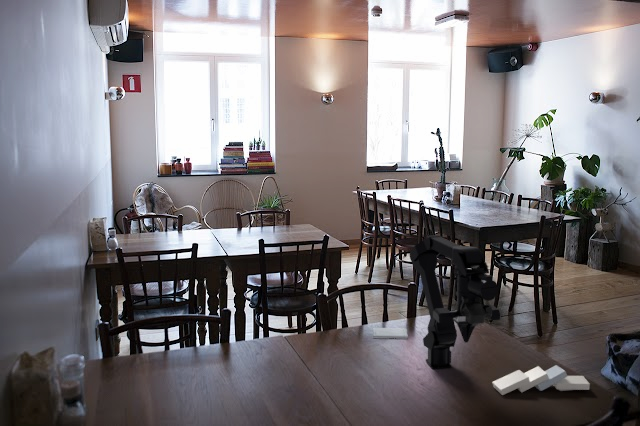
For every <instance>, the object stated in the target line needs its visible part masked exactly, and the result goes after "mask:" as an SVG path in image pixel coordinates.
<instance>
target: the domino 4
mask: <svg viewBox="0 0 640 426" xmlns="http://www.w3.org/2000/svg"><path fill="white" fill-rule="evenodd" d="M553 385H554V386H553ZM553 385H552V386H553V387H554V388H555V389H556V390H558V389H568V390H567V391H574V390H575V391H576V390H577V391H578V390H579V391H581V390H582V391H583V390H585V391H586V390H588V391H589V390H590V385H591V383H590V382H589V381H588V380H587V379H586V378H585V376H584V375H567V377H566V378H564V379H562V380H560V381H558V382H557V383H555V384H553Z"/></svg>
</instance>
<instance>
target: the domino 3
mask: <svg viewBox="0 0 640 426" xmlns="http://www.w3.org/2000/svg"><path fill="white" fill-rule="evenodd" d="M544 371H545V372H546V373H547V375H548V377H549V379H547V380H545V381H543V382H541V383H539V384H538V385H536V386H534V387H535V388H536V389H537V390H538V391H540V392H541V391H544V390H546V389H548V388H550V387H551V386H553V384H555V383H557V382H558V381H560V380H562V379H564V378H566V377H567V376H568V374H567V371H566V370H564V369H563V368H562V367H560V366H559V365H557V364H555V365H554V366H552V367H550V368H548V369H546V370H544Z"/></svg>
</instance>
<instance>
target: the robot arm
mask: <svg viewBox="0 0 640 426" xmlns="http://www.w3.org/2000/svg"><path fill="white" fill-rule="evenodd" d="M440 254H441V255H443V256H445V257H447V258H449V259H451V263H452V265H454V266H456V268H454V269H453V273H456V274H457V280H456V281H457V284H456V285H457V287H456V289H457V290H456V291H455V296H456V304H455V306H454V308H455V310H452V311H451V310H449V309H448V308H447V307H445V306H444V301H443V299H442V294H441V290H440V286H439V282H438V279H437V273H436V269H437V265H438V257H439V255H440ZM409 260H410V262H411V264H412V267H413V268H414V270H415V271H416V272H417V273H418V274H419V276H420V280H421V283H422V288H423V293H424V297H425V301H426V306H427V308H428V313H429V318H430V319H429V320H428V321H429V322H428V323H427V324H428V325H427V331H428V333H427V334H426V335H425V336H424V337H423V338H422V342H423V346H424V347H425V348H427V358H426V359H425V363H427V364H428V366H429V367H430V368H431V369H432V370H436V369H437V370H438V369H449V368H450V369H451V368H452V365H451V364H452V351H451V348H453V347H455V345H456V341H457V337H458V334H457V333H458V331H457V327H458V329H459V332H460V334H461V337H462V340H463V342H464V343H468V342H469V340H470V339H471V336H472V334H473V331H474V329H475V327H476V326H478V325H479V324H484V323H485V321H486V319H489V320H490V321H499V320H501V318H502V312H501V310H500V309H498V308H497V307H496V306H494V305H493V304H482V303H481V301H480V300H481V299H483V300H484V301H492V300H494V299H495V298H496V297H497V296H498V293H499V287H498V284H497V282H496V281H495V280H493V275H491V274H489V273H490V270H489V269H488V268H489V265H488V264H487V262H486V260H485V258H484V254H483V253H482V250H481V249H480V248H479V247H476V246H472V245H471V246H470V245H468V246H466V245H465V246H464V245H460V244H458V243H455V242H453V241H451V240H448V239H447V238H444V237H443V236H442V235H438V234H436V235H435V234H434V235H427V236H426V237H425V238H424V239H423V240H422V241H419V242H418V243H417V244H415V245H414V247H412V249H411V250H410V252H409ZM455 324H456V325H457V327H456V325H455Z"/></svg>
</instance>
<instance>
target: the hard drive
mask: <svg viewBox="0 0 640 426" xmlns="http://www.w3.org/2000/svg"><path fill="white" fill-rule="evenodd" d="M373 337H377V338H376V339H389V338H394V340H396V339H397V340H398V339H399V340H401V339H402V340H408V339H409V335H408V330H407V328H403V327H402V328H396V327H373V328H372V338H373ZM395 338H396V339H395Z"/></svg>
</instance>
